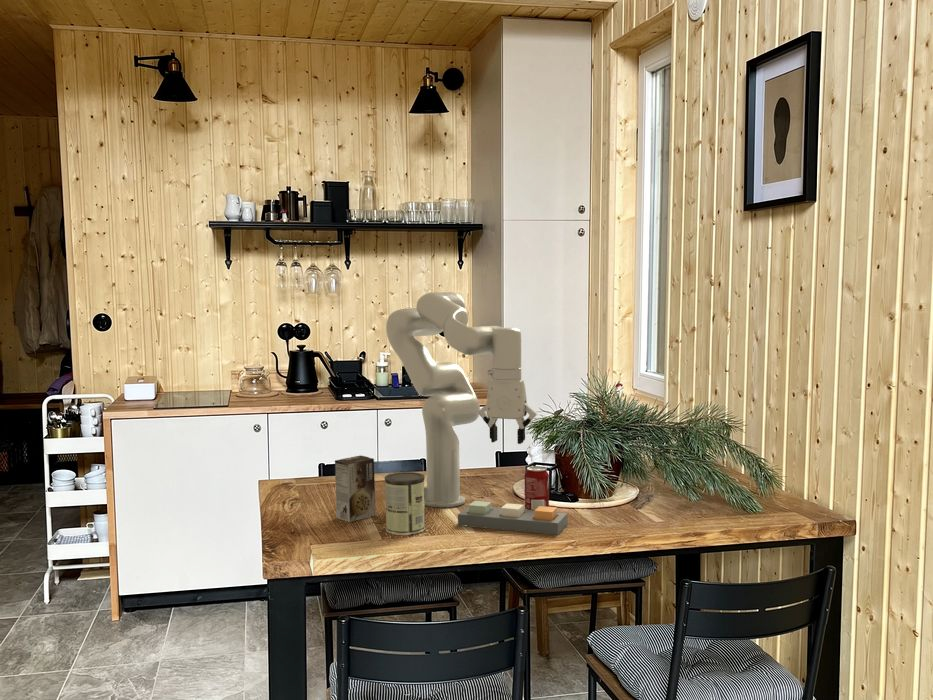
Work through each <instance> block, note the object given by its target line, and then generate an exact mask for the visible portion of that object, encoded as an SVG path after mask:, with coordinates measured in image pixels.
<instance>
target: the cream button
mask: <svg viewBox="0 0 933 700" xmlns="http://www.w3.org/2000/svg"><path fill="white" fill-rule="evenodd" d="M500 508H501V516H509V517H521V516H522V515H523V514H524V510H525V504H519V503H507V502H506V503H505V504H504V505H502V506H501V507H500Z"/></svg>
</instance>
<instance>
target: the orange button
mask: <svg viewBox="0 0 933 700" xmlns="http://www.w3.org/2000/svg"><path fill="white" fill-rule="evenodd" d="M557 512H558V507H556V506H555V507H554V506H549V507H544V506H539V507H538V508H537V509H536V510H535V511H534V519H543V520H555V518H556V517H557Z"/></svg>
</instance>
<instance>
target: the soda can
mask: <svg viewBox="0 0 933 700" xmlns="http://www.w3.org/2000/svg"><path fill="white" fill-rule="evenodd" d="M549 490H550V475H549V472H548V471H547V467H545V466H540V465H537V466H536V465H531V466H528V467H526V471H525V472H524V510H536V509H537V508H538V507H539V506H544V507H550V491H549Z"/></svg>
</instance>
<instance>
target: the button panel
mask: <svg viewBox="0 0 933 700" xmlns="http://www.w3.org/2000/svg"><path fill="white" fill-rule="evenodd" d="M534 511H535V510H526V509H524V514H523V515H522V516H521V517H509V516H501V507H499V506H492V511H491V512H489V513H488V514H487V515H486V514H475V513H469V506H467V507H466V508H464V509H463V510H461V511H460V512H459V513H457V526H458V525H467V526H466V527H468V526H476V527H475V528H479V527H486V528H485V529H489V528H495V529H494V530H500V529H504V531H511V530H517V531H516V532H521V531H525V532H524V533H532V532H536V533H535V534H543V533H548V534H547V535H553V534H555V535H557V536H559V534H560V533H561V532H562V531H563V530H564V529H565V528H566V527H567V526H568V512H567V513H566V512H558V511H557V517H556V518H555V520H543V519H534ZM566 525H567V526H566ZM565 526H566V527H565ZM561 530H562V531H561ZM560 531H561V532H560Z"/></svg>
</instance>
